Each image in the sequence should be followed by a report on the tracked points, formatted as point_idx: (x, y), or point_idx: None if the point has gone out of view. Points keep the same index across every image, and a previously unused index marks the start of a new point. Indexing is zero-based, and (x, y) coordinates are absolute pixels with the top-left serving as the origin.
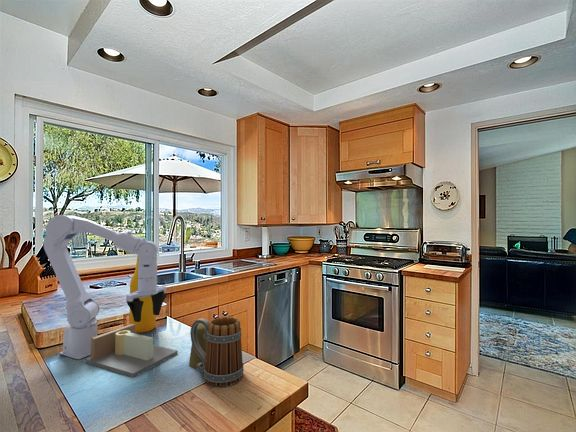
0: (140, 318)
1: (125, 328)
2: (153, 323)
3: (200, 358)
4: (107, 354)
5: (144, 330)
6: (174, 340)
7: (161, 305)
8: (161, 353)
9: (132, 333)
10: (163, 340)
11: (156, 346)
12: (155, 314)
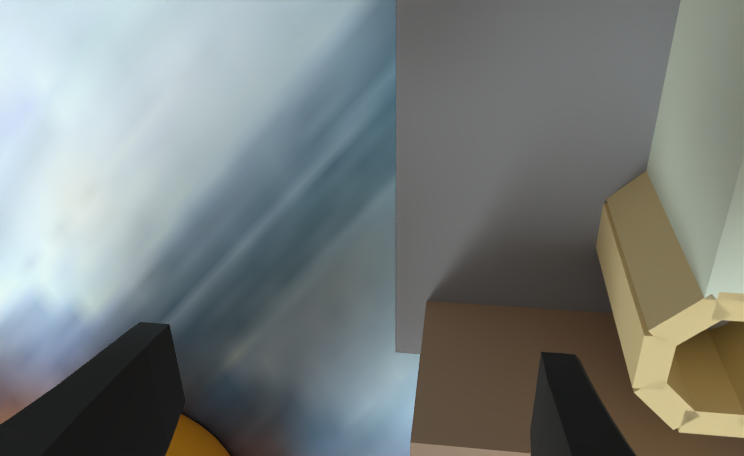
0: (560, 381)
1: None
2: None
3: None
4: None
5: (178, 423)
6: (132, 12)
7: (17, 420)
8: None
9: (733, 241)
10: (203, 127)
11: (417, 9)
12: (174, 372)
